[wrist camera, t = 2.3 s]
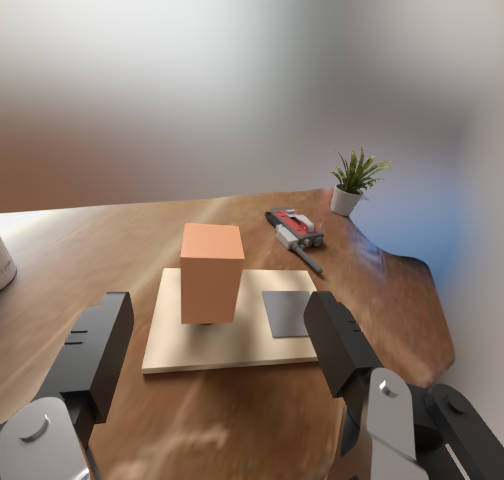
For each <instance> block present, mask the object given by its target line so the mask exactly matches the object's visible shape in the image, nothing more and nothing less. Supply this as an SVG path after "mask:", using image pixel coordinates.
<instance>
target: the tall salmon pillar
mask: <svg viewBox="0 0 504 480" xmlns="http://www.w3.org/2000/svg"><path fill="white" fill-rule="evenodd" d="M244 260H245V258H244V253H243V248H242V243H241V238H240V233H239V227H238V226H227V225H209V224H192V223H185V229H184V236H183V243H182V250H181V256H180V268H181V324H204V323H233V319H234V314H235V308H236V303H237V297H238V292H239V287H240V281H241V276H242V271H243V265H244Z"/></svg>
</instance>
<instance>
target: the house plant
mask: <svg viewBox="0 0 504 480" xmlns="http://www.w3.org/2000/svg"><path fill="white" fill-rule="evenodd" d="M338 153H339V152H338ZM340 156H341V155H340ZM374 157H375V155H374V156H372V157H371V158H369V159H368V160H367V162H366V163H365V164H364V166H363V167H362V164H363V159H364V154H363V150H362V148H361V159H360V162H359V165H358V168H357V170H356V173H355V169H356V163H357V159H356V156H355V152H354V151H352V157H351V163H350V166H349V168H348V166H347V161H346V160H345V161H346V166H347V171H346V166H345V163H344V160H343V158H342V156H341V158H342V160H343V163H344V166H345V171H346V175H347V178H346V177H345V176H344V174H343V172H342V171H341V170H340V169H339V168H338V167H337V166H336V168H337V170H338V172H339V174H340V175H341V178H342V180H343V183H344V184H342V182H341V179H340V177H339V175H338V174H336V173H335V172H331V173H332V174H334V175H335V176H336V177H337V178H338V179H339V180H340V183H341V184H336V185H335V189H334V194H333V199H332V204H331V210H332V211H333V212H335V213H337V214H339V215H343V216H348V215H349V214H350V213H351V212H352V210H353V209H354V207H355V206H356V204H357V203H358V201H359V200H360V198H361V197H362V195H363V192H362V191H361V190H360V188H362V187H363V188H365V189H366V190H367V187H366V186H365V185H366V184H368V185H370V187H372V186H373V184H372V183H370V182H373V181H375V182H376V180H379V179H374V180H371V181H369V182H367V183H362V182H363V181H365V180H368V179H372V178H370V176H371V175H373V174H374V173H376V172H378V171H380V170H383V169H389V168H381V169H378V170H376V171H375V172H373V173H372V174H371V175H369V176H368V177H366V178H363V177H364V176H365V175H366V174H368V173H369V172H371V171H372V170H374V169H375V168H377V166H379V165H381V164H384V163H387V162H392V161H384V162H380V163H378V164H376V165H374V166H372V167H371V168H370V169H369V170H367V171H366V172H365V173H364V171H365V170H366V169H367V168H368V166H369V165H370V164H371V163H372V161H373V159H374ZM386 167H388V166H386ZM363 173H364V174H363ZM362 178H363V179H362ZM359 180H360V181H359Z"/></svg>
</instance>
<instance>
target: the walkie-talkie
mask: <svg viewBox="0 0 504 480" xmlns="http://www.w3.org/2000/svg"><path fill="white" fill-rule="evenodd" d="M265 217H266V218H267V219H268V221H269V222H270V223H271V224H272V225H273V226H274V227H275V228H276V229H275V230H276V231H277V239H278V240H279V241H280V242H281V243H282V244H283V245H284V246H285V248H286V249H287V250H288V249H292V250H293V251H295V252H296V253H298V254H299V255H300V256H301V257H302V258H303V259H304V260H305V261H306V262H307V263H308V264H310V265H311V266H312V267H313V268H314V269H315V270H316V271H317V272H318V273H320V274H321V273H322V271H323V270H322V268H320V267H319V266H318V265H317V264H316V263H315V262H314V261H313V260H312V259H311V258H310V257H309V256H308V255H307V254H306V253H305V252H304V251H302V250H303V249H304V247H308V246H313V245H314V246H315V247H317V246H319V245H321V243H322V242H323V236H324V233H323V232H321V231H320V230H319V229H318V228H316V227H315V224H314V223H313V222H311V221H309V219H308V218H306V217H305V216H304V215H300V214H299V213H297V212H296V211H295V210H294V209H292V208H290V207H281V208H273V209H271V212H265Z"/></svg>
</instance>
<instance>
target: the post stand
mask: <svg viewBox="0 0 504 480" xmlns="http://www.w3.org/2000/svg"><path fill="white" fill-rule="evenodd" d="M313 291H317V290H316V288H315V286H314V284H313V282H312V280H311V278H310V276H309V274H308V272H307V271H286V270H243V271H242V276H241V281H240V287H239V292H238V297H237V303H236V308H235V314H234V319H233V323H204V324H181V269H173V268H164V270H163V275H162V280H161V284H160V289H159V293H158V298H157V302H156V307H155V311H154V316H153V320H152V325H151V329H150V334H149V338H148V343H147V347H146V352H145V356H144V361H143V365H142V372H143V374H149V373H162V372H176V371H190V370H203V369H217V368H231V367H244V366H258V365H272V364H285V363H299V362H313V361H318V358H317V355H316V353H315V350H314V348H313V345H312V343H311V340H310V337H309V335H308V332H307V330H306V327H305V324H304V319H303V315H304V311H305V308H306V306H307V303H308V301H309V299H310V296H311V294H312V292H313Z"/></svg>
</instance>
